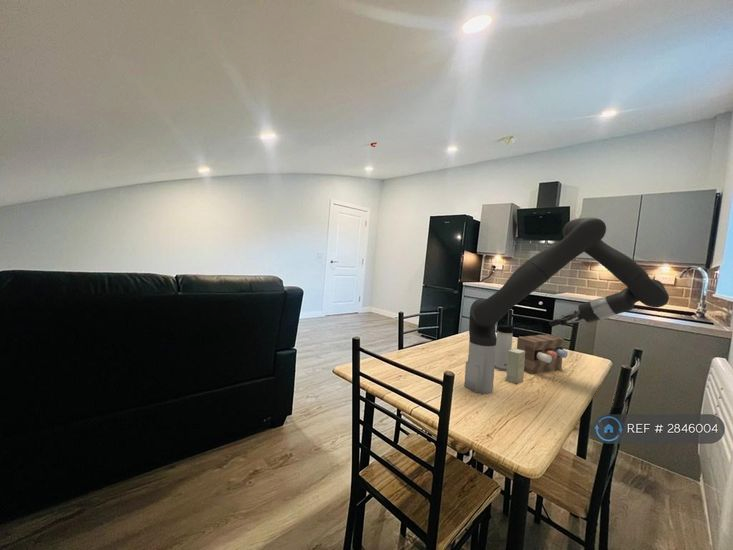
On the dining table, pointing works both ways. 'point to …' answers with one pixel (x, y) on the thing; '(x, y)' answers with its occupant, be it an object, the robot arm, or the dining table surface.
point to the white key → (544, 357)
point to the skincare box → (515, 365)
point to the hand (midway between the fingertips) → (550, 324)
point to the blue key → (561, 353)
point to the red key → (551, 354)
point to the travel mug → (503, 346)
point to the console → (540, 345)
